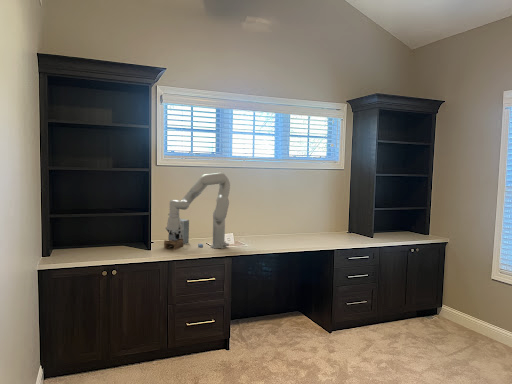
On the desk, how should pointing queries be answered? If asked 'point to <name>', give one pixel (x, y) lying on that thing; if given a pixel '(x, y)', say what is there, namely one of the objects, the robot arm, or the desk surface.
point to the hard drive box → (184, 231)
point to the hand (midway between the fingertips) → (174, 238)
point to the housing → (173, 236)
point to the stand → (173, 243)
